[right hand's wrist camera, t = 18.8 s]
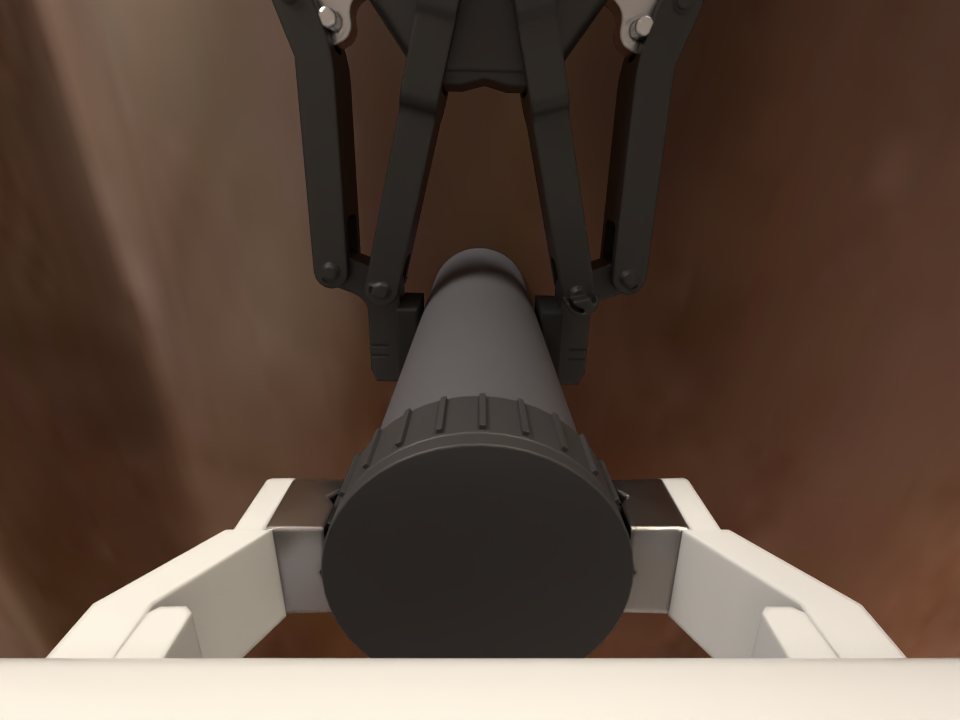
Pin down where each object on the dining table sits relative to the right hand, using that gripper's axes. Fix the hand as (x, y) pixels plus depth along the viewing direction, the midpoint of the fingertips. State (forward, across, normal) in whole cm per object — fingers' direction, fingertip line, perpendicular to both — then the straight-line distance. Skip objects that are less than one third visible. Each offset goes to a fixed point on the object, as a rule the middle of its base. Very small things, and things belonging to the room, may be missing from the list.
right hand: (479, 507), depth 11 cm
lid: (-2, 0, 0) cm, 2 cm away
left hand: (+12, 0, -5) cm, 13 cm away
